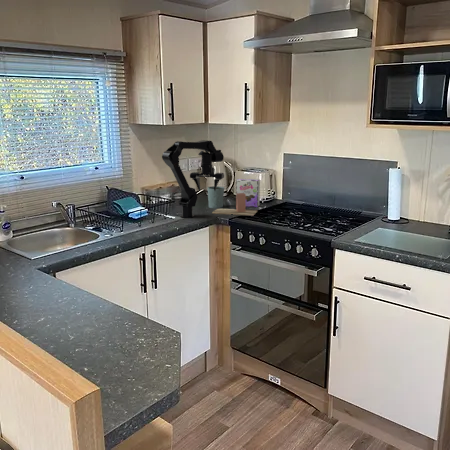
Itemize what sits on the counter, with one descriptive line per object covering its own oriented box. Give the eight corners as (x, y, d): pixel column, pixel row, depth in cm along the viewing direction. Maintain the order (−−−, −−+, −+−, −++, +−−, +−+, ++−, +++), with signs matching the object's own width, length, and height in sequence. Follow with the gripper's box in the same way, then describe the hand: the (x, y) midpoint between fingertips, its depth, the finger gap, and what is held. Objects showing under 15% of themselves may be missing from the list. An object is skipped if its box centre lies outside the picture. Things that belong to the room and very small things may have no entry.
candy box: (235, 206, 292) (235, 179, 288) (238, 204, 298) (238, 178, 294) (257, 207, 288) (257, 180, 285) (259, 205, 294) (260, 179, 290)
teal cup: (207, 205, 295) (207, 186, 292) (224, 205, 295) (223, 186, 292) (207, 208, 285) (207, 188, 282) (224, 208, 285) (224, 188, 283)
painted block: (245, 211, 273) (245, 194, 271) (237, 211, 273) (237, 194, 270) (243, 210, 278) (243, 193, 275) (236, 210, 277) (236, 193, 274)
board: (253, 215, 265) (253, 214, 265) (212, 213, 271) (212, 212, 271) (257, 211, 277) (257, 210, 277) (217, 209, 283) (217, 208, 283)
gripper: (226, 161, 272) (226, 188, 275) (195, 161, 276) (196, 187, 280) (221, 163, 261) (221, 192, 265) (189, 163, 266) (189, 190, 270)
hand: (207, 190), depth 270 cm, fingers open, 9 cm apart
